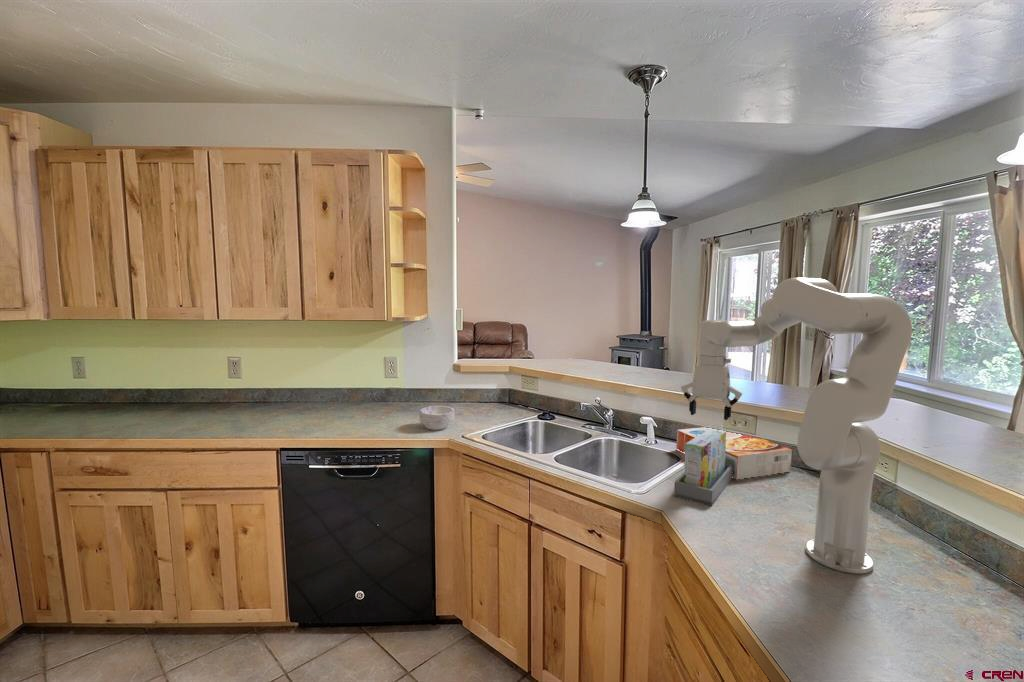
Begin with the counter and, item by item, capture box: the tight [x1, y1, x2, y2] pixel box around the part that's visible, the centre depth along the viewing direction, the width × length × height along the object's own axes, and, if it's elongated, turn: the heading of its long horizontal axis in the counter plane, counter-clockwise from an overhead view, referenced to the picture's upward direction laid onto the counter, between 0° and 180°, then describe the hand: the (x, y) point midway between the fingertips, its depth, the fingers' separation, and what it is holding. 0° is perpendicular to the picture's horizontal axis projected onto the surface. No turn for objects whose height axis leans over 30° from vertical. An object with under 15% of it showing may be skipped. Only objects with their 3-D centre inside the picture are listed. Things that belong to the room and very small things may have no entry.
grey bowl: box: [419, 405, 455, 431], centre depth 204 cm, size 15×15×8 cm
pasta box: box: [675, 426, 793, 481], centre depth 167 cm, size 23×8×30 cm
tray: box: [673, 463, 733, 507], centre depth 144 cm, size 26×11×4 cm, turn 143°
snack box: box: [683, 428, 726, 489], centre depth 143 cm, size 21×6×15 cm, turn 138°
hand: (709, 416), depth 142 cm, fingers open, 9 cm apart
